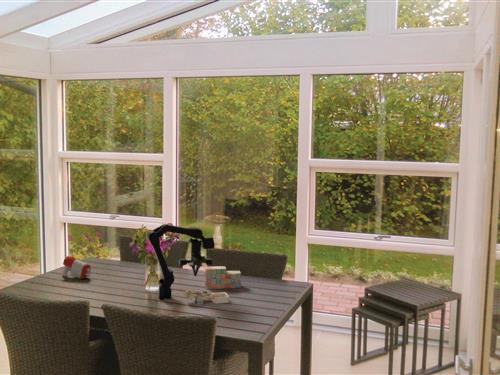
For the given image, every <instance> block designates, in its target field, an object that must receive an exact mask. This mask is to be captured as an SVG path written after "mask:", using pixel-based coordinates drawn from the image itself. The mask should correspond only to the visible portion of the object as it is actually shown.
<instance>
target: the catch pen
mask: <svg viewBox="0 0 500 375" xmlns="http://www.w3.org/2000/svg"><path fill="white" fill-rule="evenodd" d="M214 295H218V296H219V297H214V300H213V296H214ZM210 297H212V299H211V301H212V302H213V304H214V305H215V304H226V303H230V296H229V294H228V293H227V292H225V291H224V292H211V293H210Z"/></svg>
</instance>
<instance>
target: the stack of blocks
mask: <svg viewBox="0 0 500 375" xmlns="http://www.w3.org/2000/svg"><path fill="white" fill-rule="evenodd" d="M204 278H205V279H204V280H205V282H204V284H205V285H204V286H205V289H207V290H208V289H210V290H211V289H220V290H221V289H241V288H242V286H241V285H242V273H241V271H240V270H227V268H226V266H225V265H224V266H223V265H222V266H221V265H219V266H217V265H216V266H205V272H204Z"/></svg>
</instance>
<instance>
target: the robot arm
mask: <svg viewBox="0 0 500 375" xmlns="http://www.w3.org/2000/svg"><path fill="white" fill-rule="evenodd" d="M166 233H173V234H180V235H184V236H187V237H190V238H188V240H187V242H188V243H190V259H187V258H184V257H183V258H179V259H178V265H179V266H186V265H187V264H188V266H189V267H190V268H191V269H192V272H193V273H192V274H193V276H194V277H197V275H198V272H199V269H200V268H201V267H203V264H206V265H207V266H210V265H213V259H212V258H211V257H206V256H205V255H202V248H203V250H214V249H215V245H216V244H215V240H214V237H212V236H210V237H205V236H204V235H203V230H202V229H200V228H199V227H196V226H195V227H193V226H190V227H184V226H177V225H173V224H167V223H163V224H161V225H160V226H158V227H156V228H154V229H153V230H149V231H148V232H146V239H147V241H148V242H149V244H150V246H151V247H152V249H153V252H154V254H155V257H156V259H157V260H156V261H157V262H158V265H159V267H160V274H161V277H160V279H159V280H157V281H158V283H157V284H158V285H159V286H158V295H157V296H158V299H159V300H166V299H172V288H171V287H172V285H173V284H174V282H175V278H176V277H175V275H174V271H173V269H171V268H169V266H168V265H167V262H166V259H165V256H164V253H163V250H162V248H161V242H160V238H162V237H163V236H164V235H165V234H166Z"/></svg>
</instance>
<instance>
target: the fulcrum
mask: <svg viewBox="0 0 500 375" xmlns="http://www.w3.org/2000/svg"><path fill="white" fill-rule="evenodd" d="M191 301H192V303H193V304H194V306H199V305H202V306H203V305H205V302H204V300H202V296H197V299H193V298H191Z"/></svg>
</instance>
